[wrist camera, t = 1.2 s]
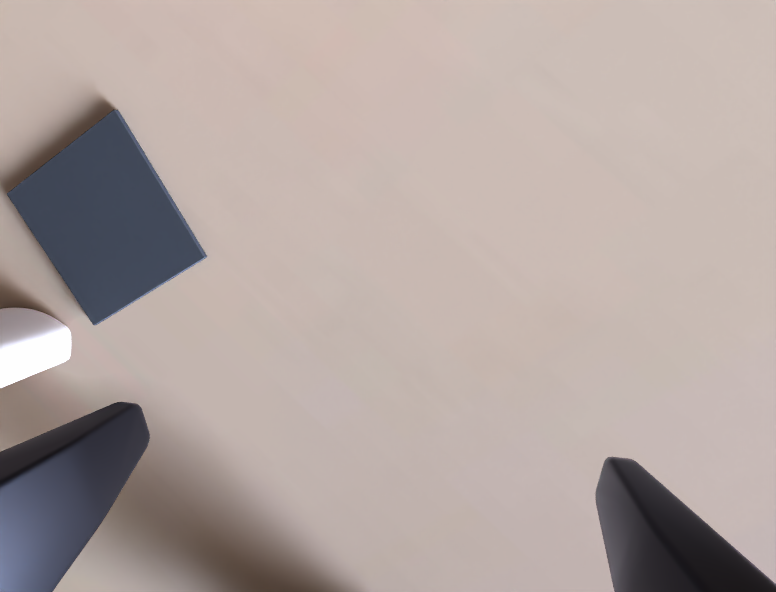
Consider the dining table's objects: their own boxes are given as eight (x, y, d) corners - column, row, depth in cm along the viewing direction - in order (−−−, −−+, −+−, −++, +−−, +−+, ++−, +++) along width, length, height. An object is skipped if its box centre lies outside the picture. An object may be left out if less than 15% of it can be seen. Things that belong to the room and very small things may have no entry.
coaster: (207, 256, 23) (204, 257, 23) (97, 324, 25) (93, 325, 25) (118, 110, 22) (114, 108, 22) (11, 193, 24) (6, 193, 24)
